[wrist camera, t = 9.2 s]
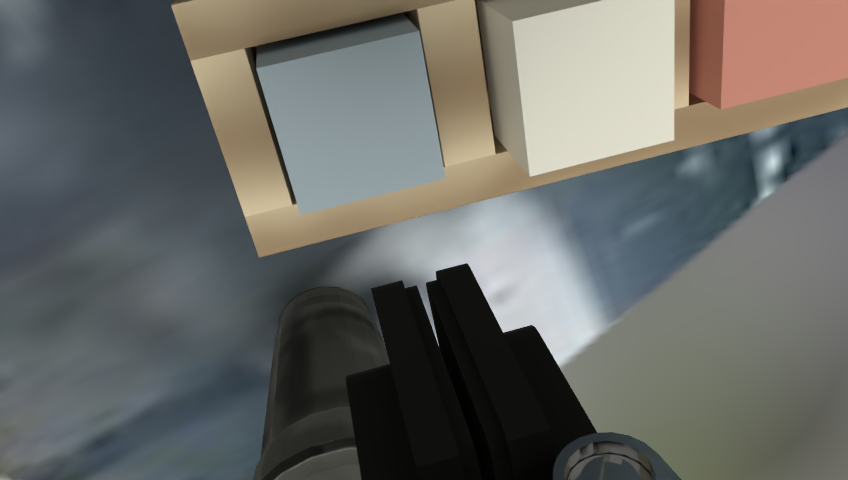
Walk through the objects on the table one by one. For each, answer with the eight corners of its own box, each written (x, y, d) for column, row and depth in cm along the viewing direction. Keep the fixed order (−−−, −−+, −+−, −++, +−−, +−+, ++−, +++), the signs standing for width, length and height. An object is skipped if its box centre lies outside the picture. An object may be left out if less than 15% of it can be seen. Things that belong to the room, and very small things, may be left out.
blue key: (257, 39, 24) (256, 68, 21) (397, 7, 25) (419, 30, 21) (295, 169, 27) (300, 215, 23) (422, 138, 27) (445, 178, 24)
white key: (476, -2, 24) (512, 21, 20) (615, -34, 24) (674, -17, 21) (494, 135, 26) (529, 176, 23) (620, 104, 27) (674, 140, 23)
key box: (188, -21, 26) (171, 5, 21) (789, -153, 28) (898, -156, 23) (259, 195, 30) (259, 257, 25) (773, 68, 32) (861, 103, 27)
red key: (663, -54, 25) (726, -41, 22) (789, -83, 26) (871, -74, 22) (664, 79, 28) (720, 109, 24) (779, 50, 28) (851, 76, 25)
